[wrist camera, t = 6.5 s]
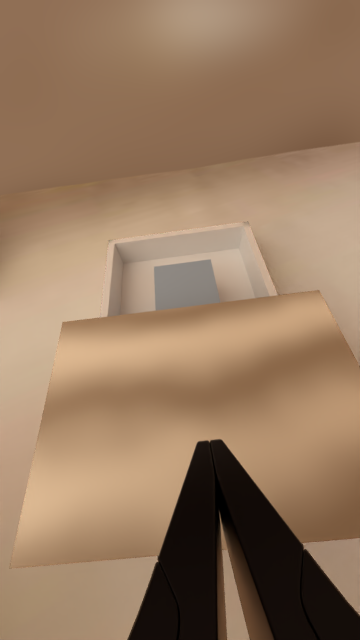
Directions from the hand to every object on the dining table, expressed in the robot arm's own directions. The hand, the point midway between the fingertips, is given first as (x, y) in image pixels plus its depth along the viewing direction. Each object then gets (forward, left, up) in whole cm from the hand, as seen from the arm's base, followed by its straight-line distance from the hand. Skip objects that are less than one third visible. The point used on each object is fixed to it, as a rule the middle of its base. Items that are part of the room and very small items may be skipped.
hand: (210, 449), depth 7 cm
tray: (+14, -9, -13) cm, 21 cm away
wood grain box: (+2, -1, -13) cm, 13 cm away
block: (+8, -5, -10) cm, 14 cm away
